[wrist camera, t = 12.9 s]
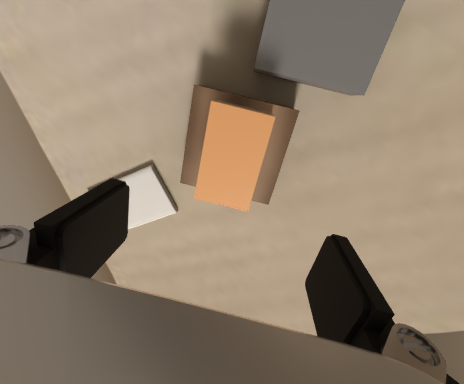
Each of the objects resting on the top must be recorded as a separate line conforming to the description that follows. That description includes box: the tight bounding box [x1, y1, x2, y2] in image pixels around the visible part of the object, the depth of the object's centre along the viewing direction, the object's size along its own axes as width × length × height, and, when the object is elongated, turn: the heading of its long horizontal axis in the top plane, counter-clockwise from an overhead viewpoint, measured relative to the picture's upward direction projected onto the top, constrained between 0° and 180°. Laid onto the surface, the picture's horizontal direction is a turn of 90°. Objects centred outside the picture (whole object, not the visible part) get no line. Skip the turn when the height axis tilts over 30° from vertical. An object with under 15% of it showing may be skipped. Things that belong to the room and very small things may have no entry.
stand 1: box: [180, 85, 299, 204], centre depth 29 cm, size 12×12×4 cm
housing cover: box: [194, 100, 275, 211], centre depth 23 cm, size 10×6×2 cm, turn 167°
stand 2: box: [254, 0, 405, 95], centre depth 23 cm, size 12×12×4 cm
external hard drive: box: [118, 164, 178, 229], centre depth 36 cm, size 2×8×12 cm
